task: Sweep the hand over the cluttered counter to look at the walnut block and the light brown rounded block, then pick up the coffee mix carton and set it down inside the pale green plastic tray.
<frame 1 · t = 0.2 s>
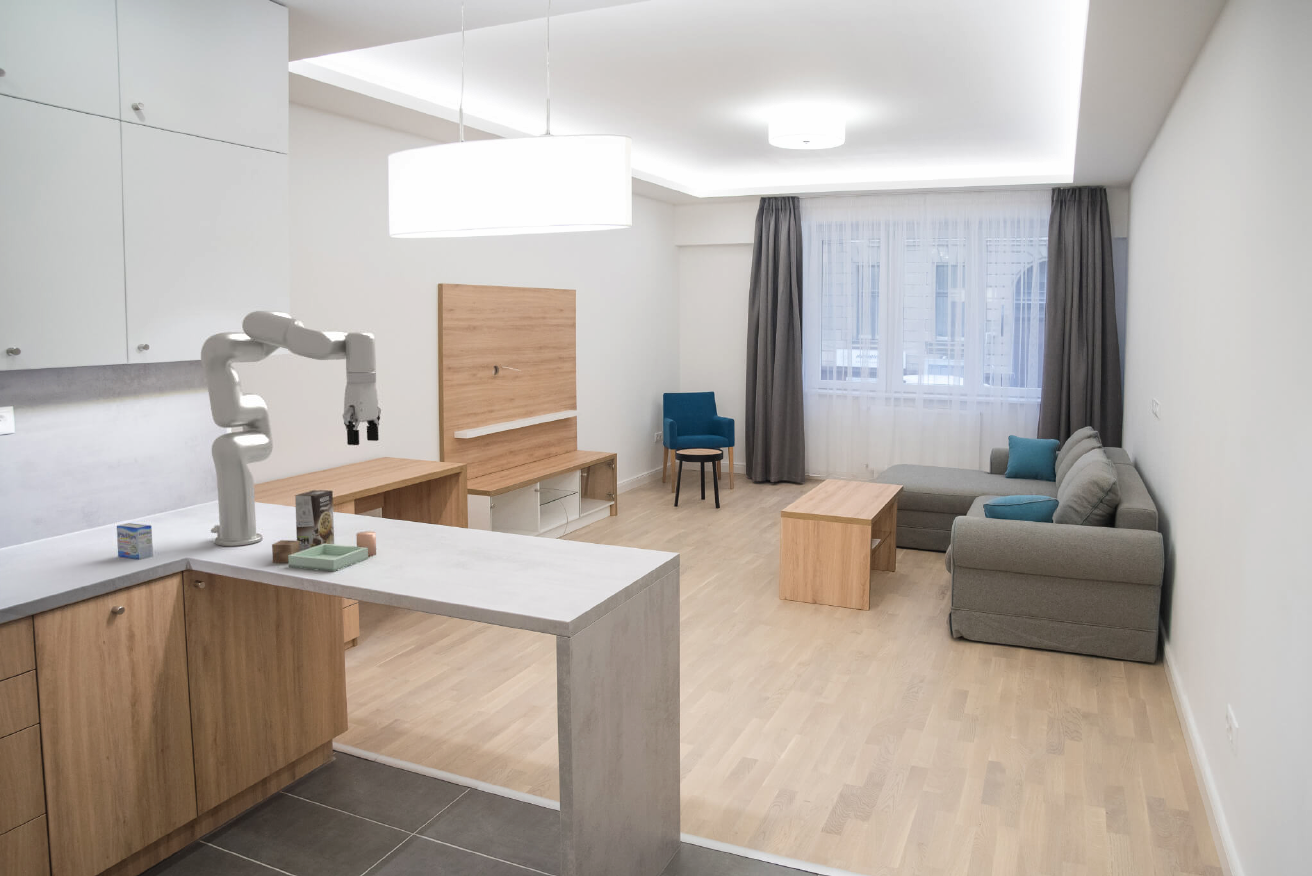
hand: (363, 442, 243), 31 cm above the table, tool pointing down, fingers open, 9 cm apart
medicine box: (135, 557, 243), on the table
walnut block: (286, 561, 240), on the table
tray: (329, 562, 238), on the table
light brown rounded block: (366, 554, 247), on the table
coffee box: (316, 550, 252), on the table
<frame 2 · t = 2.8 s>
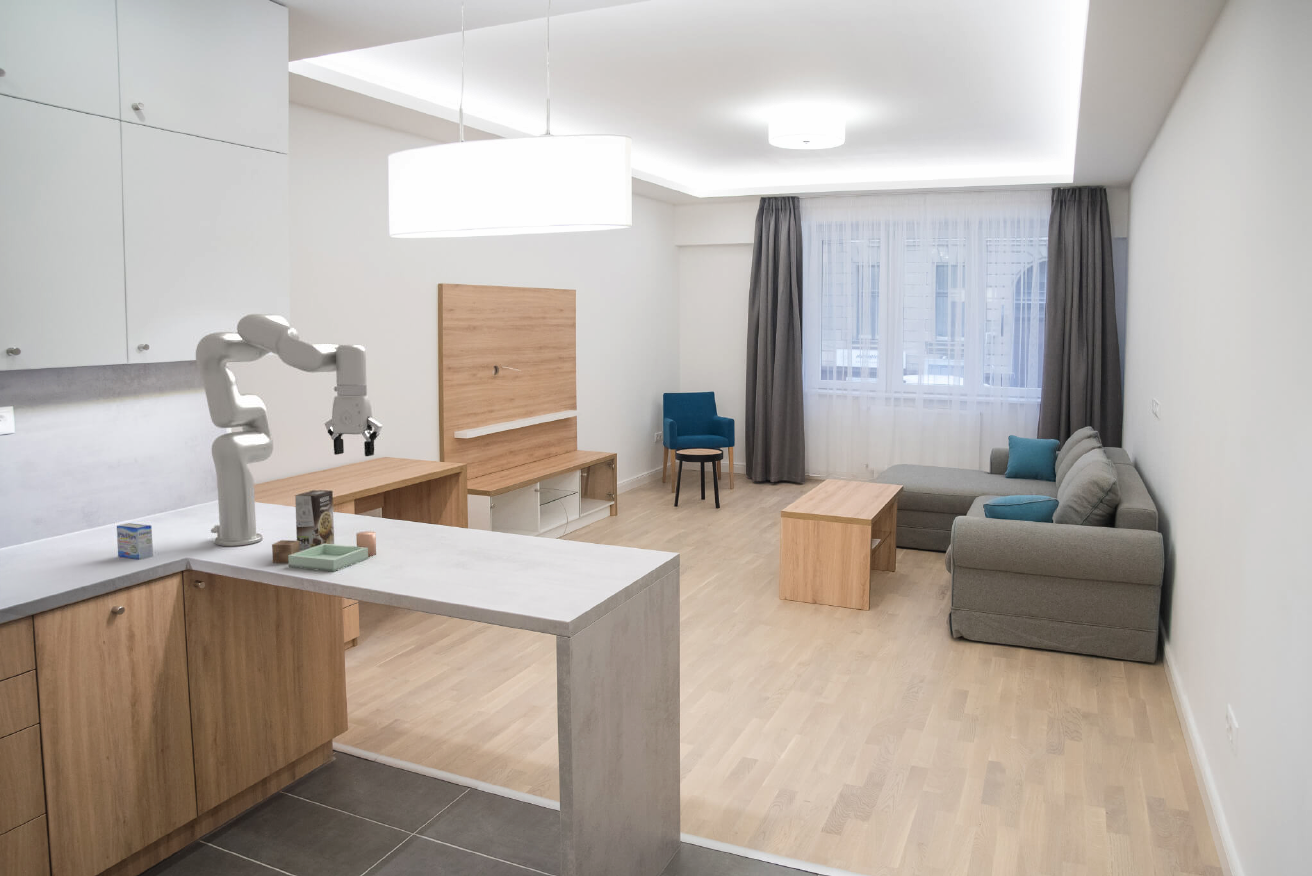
hand: (354, 454, 243), 28 cm above the table, tool pointing down, fingers open, 9 cm apart
nothing on the table moved.
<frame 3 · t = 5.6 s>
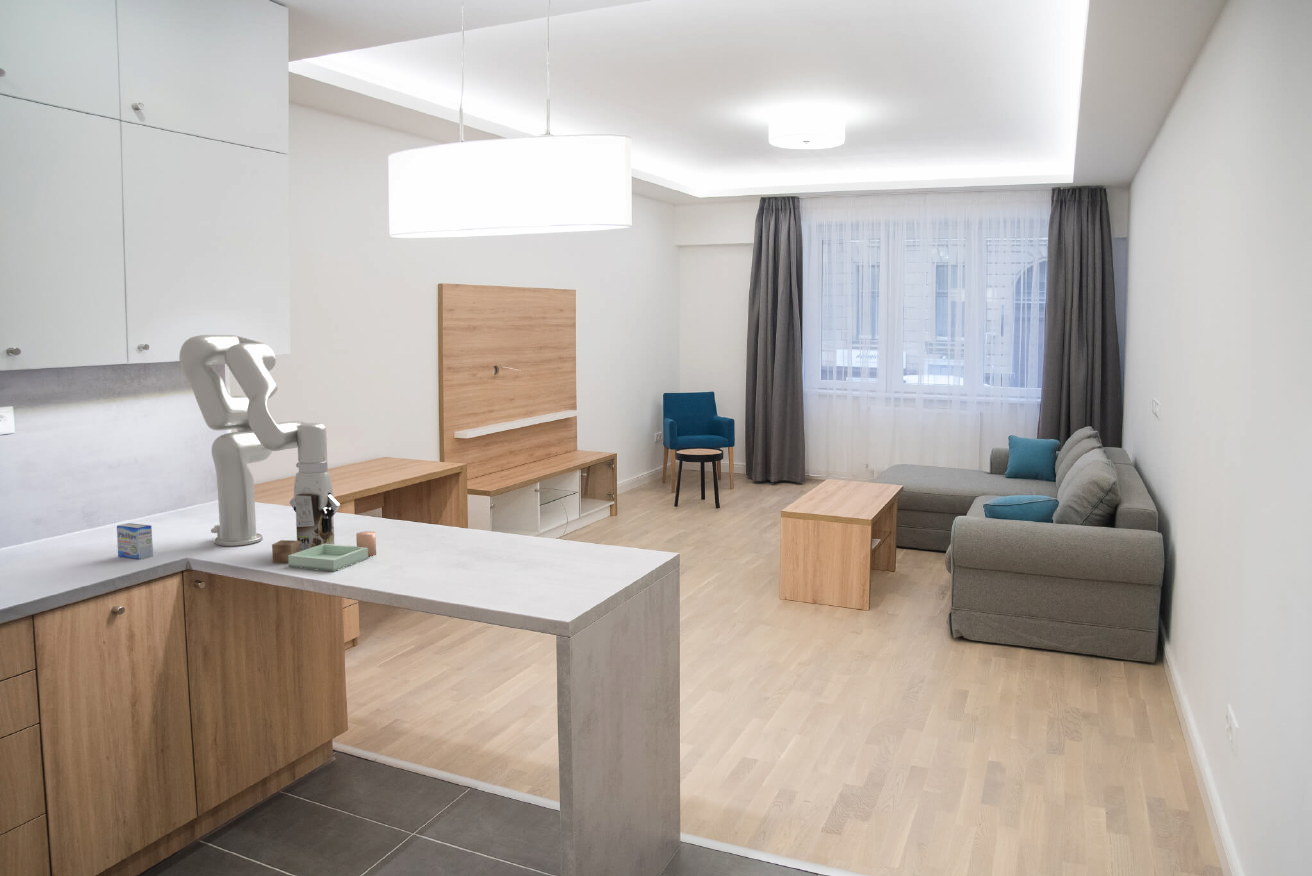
hand: (315, 530, 252), 5 cm above the table, tool pointing down, fingers closed on coffee box, 6 cm apart
coffee box: (316, 549, 252), on the table, touching gripper
everything else where it was.
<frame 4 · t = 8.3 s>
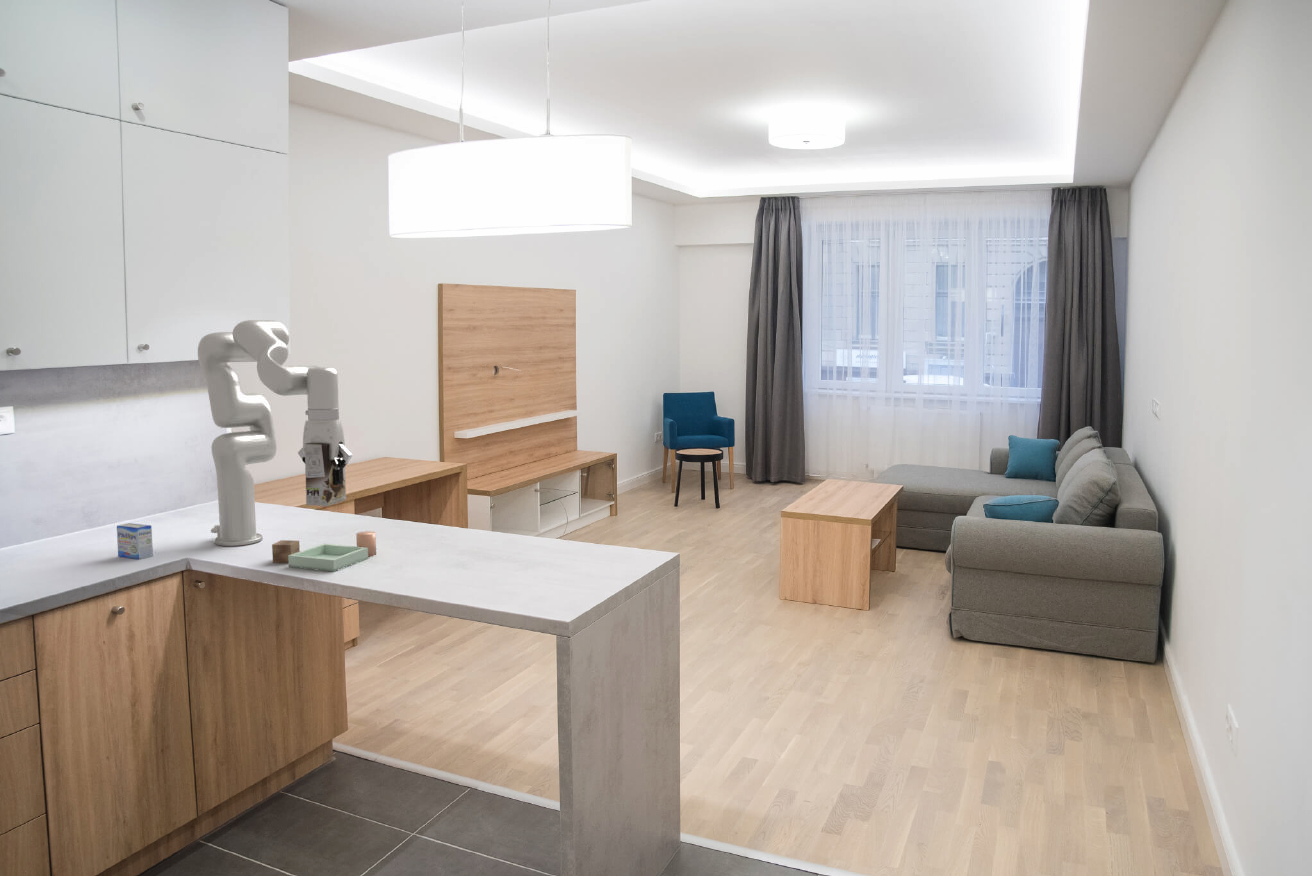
hand: (325, 482, 235), 21 cm above the table, tool pointing down, fingers closed on coffee box, 6 cm apart
coffee box: (326, 503, 236), point 16 cm above the table, touching gripper
everything else where it was.
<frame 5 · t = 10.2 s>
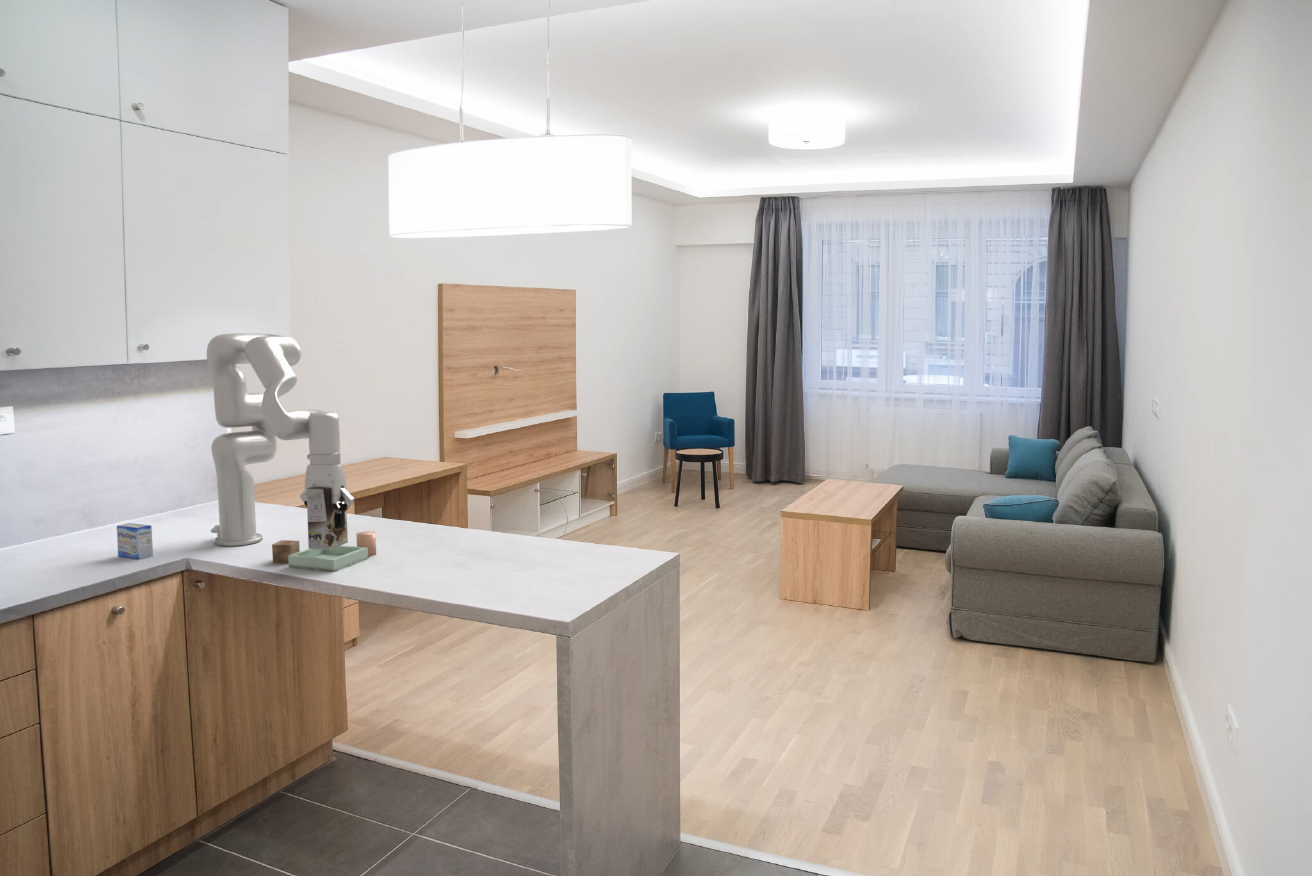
hand: (327, 526, 237), 10 cm above the table, tool pointing down, fingers closed on coffee box, 6 cm apart
coffee box: (328, 546, 237), point 4 cm above the table, touching gripper
everything else where it was.
when the fingers open (7 cm above the table, at t = 11.4 s): coffee box drops 1 cm, resting on tray.
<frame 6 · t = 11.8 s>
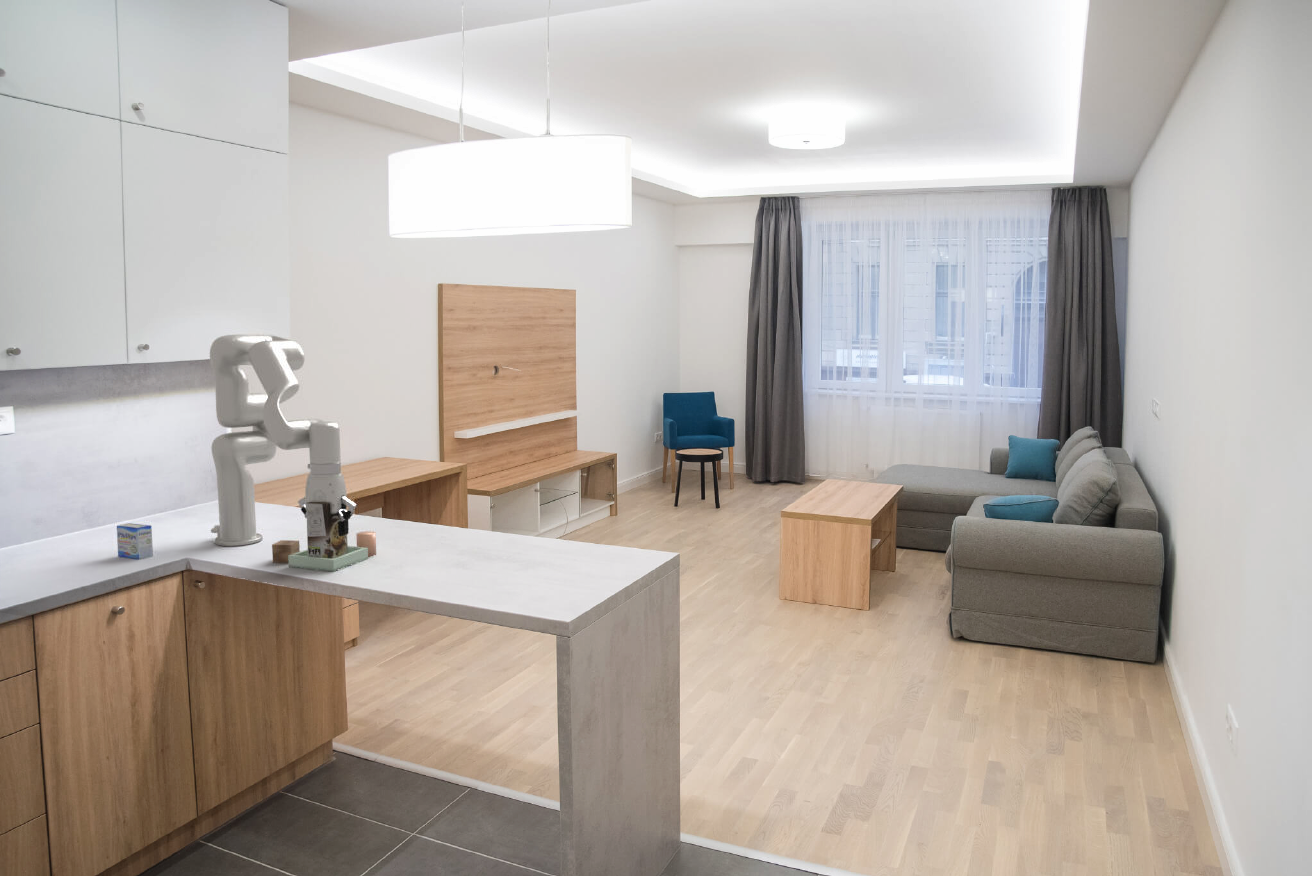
hand: (328, 533, 237), 8 cm above the table, tool pointing down, fingers open, 9 cm apart
coffee box: (328, 561, 238), resting on tray
everything else where it was.
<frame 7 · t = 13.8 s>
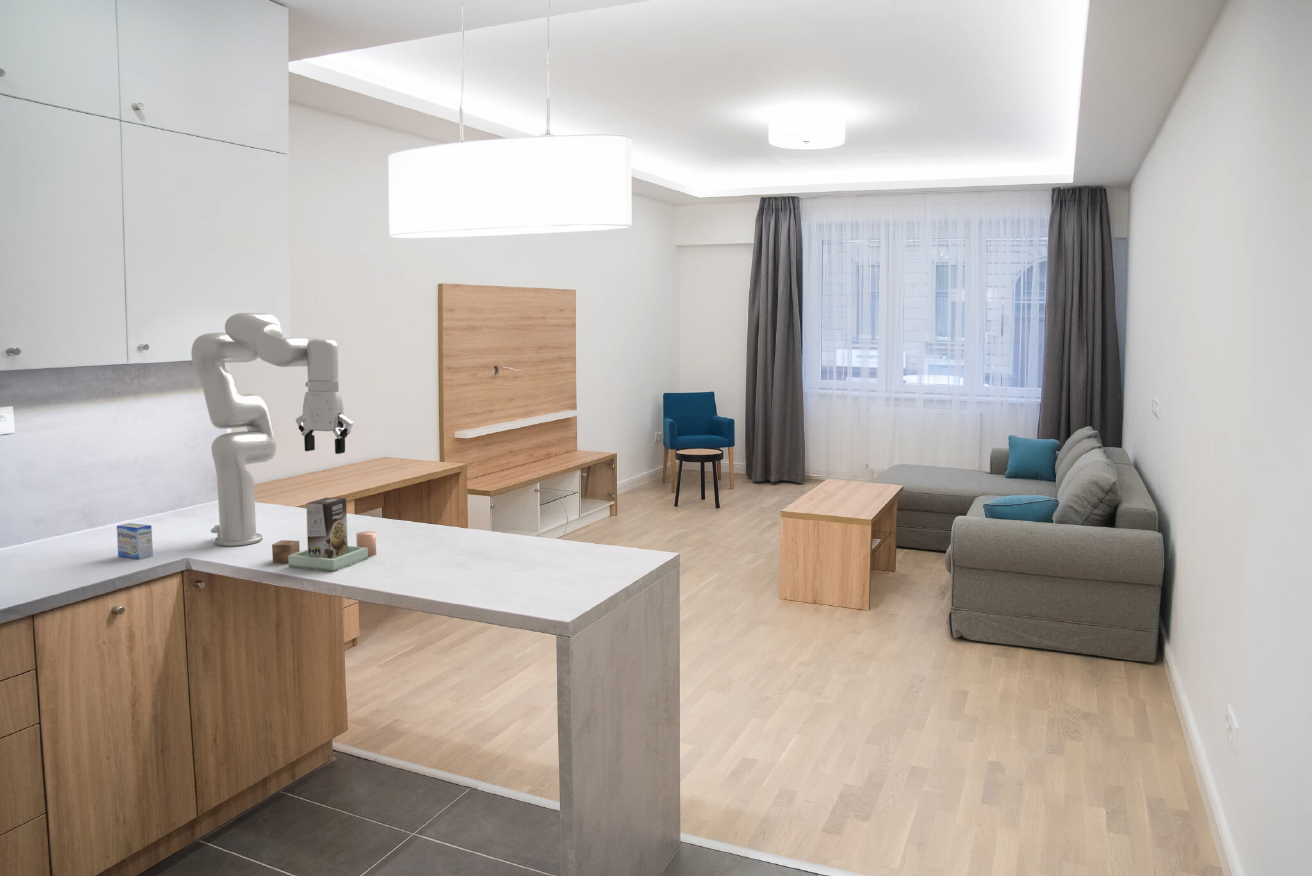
hand: (324, 451, 237), 29 cm above the table, tool pointing down, fingers open, 9 cm apart
nothing on the table moved.
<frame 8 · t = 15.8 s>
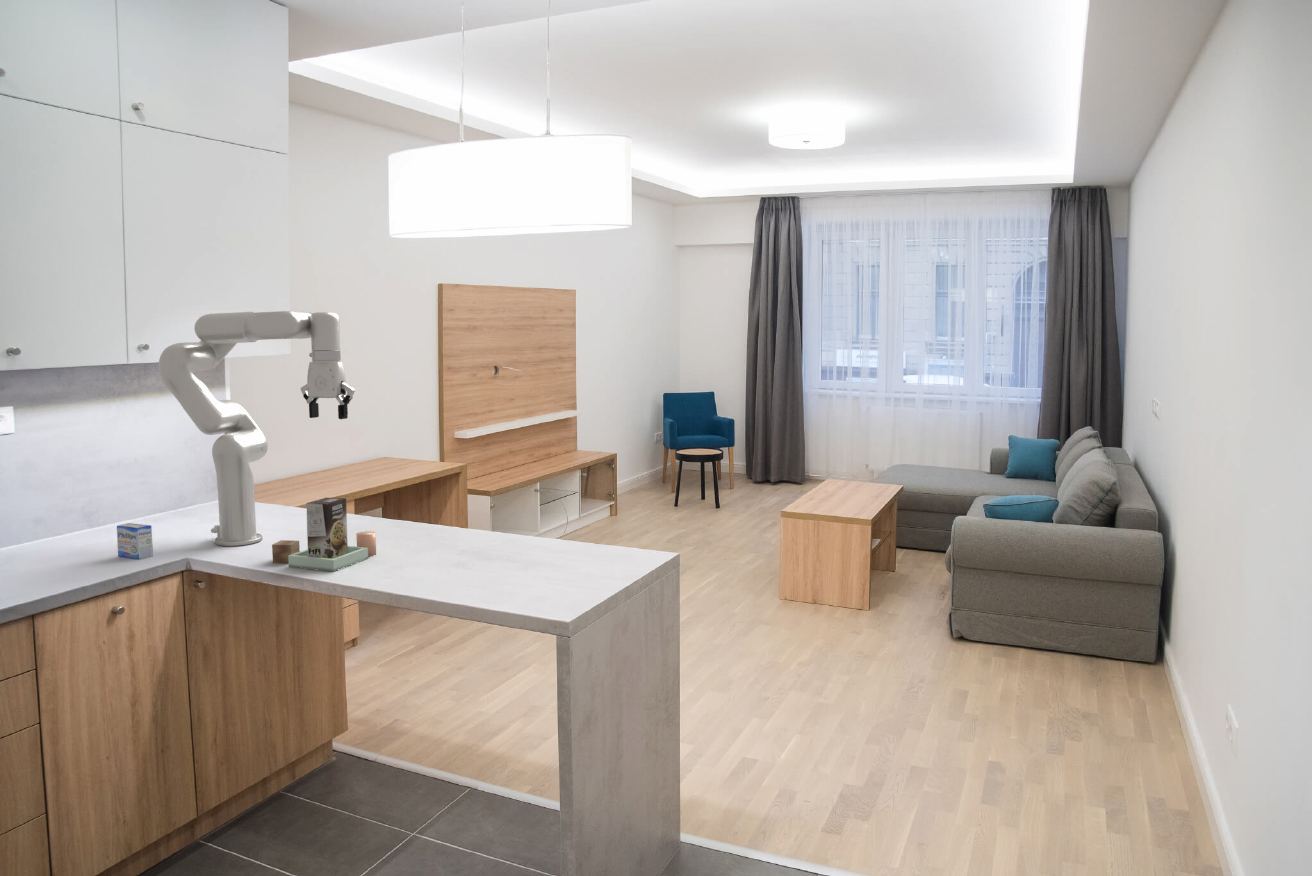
hand: (328, 418, 253), 36 cm above the table, tool pointing down, fingers open, 9 cm apart
nothing on the table moved.
at the end: coffee box inside the target area on the tray (0.2 cm from its centre), point 0.4 cm above the tray's base; coffee box tilted 0°; the gripper is holding nothing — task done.
